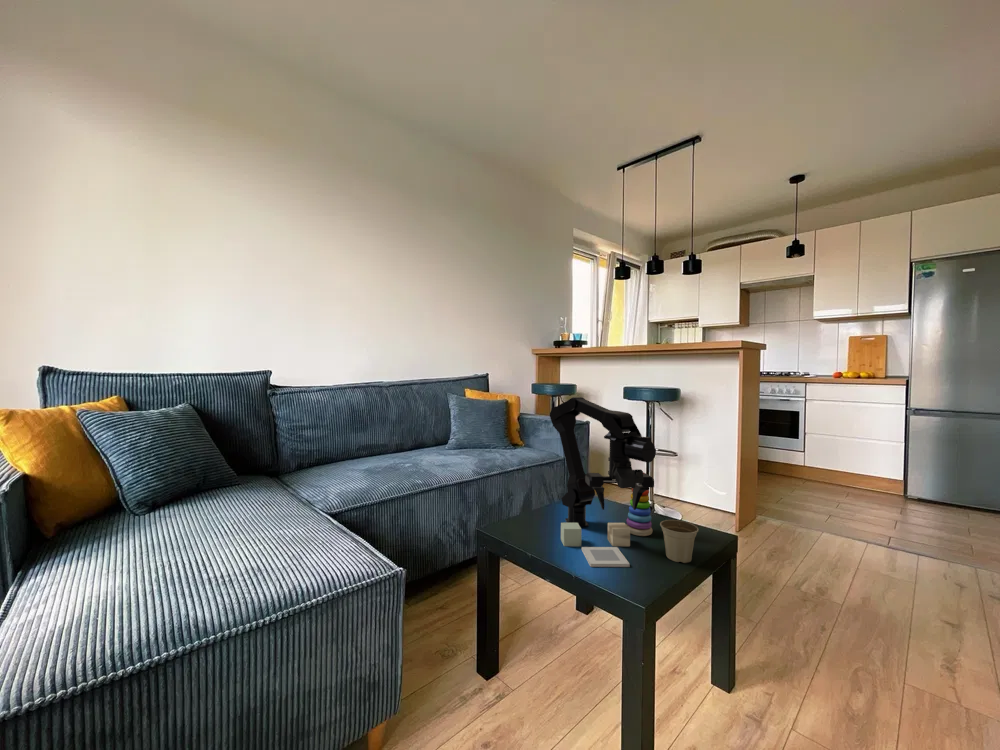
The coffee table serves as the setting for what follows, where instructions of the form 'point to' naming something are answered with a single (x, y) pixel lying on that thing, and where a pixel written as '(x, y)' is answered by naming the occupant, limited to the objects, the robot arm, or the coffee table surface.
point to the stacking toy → (640, 516)
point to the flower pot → (679, 539)
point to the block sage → (571, 534)
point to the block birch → (618, 534)
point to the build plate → (605, 557)
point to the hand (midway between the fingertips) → (618, 509)
